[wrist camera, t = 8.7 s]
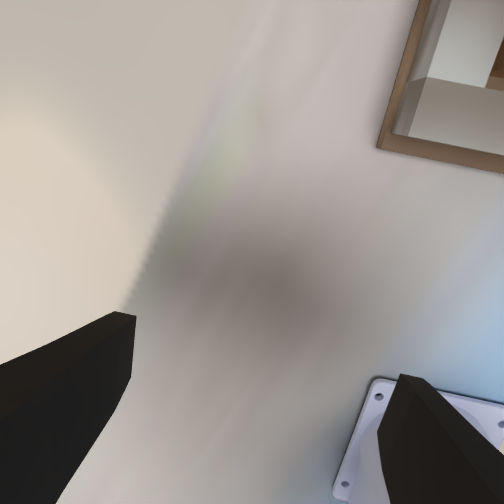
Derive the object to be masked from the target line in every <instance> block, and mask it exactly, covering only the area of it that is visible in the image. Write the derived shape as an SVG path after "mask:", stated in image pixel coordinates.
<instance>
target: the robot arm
mask: <svg viewBox="0 0 504 504" xmlns="http://www.w3.org/2000/svg"><path fill="white" fill-rule="evenodd" d="M135 327H136V316H134V315H130V314H125V313H121V312H116V311H114V312H112V313H110V314H107V315H105V316H104V317H101V318H99V319H97V320H95V321H93V322H91V323H89V324H87V325H85V326H83V327H81V328H79V329H77V330H75V331H73V332H71V333H69V334H67V335H65V336H63V337H61V338H59V339H57V340H55V341H53V342H51V343H49V344H47V345H44V346H42V347H40V348H37V349H35V350H33V351H31V352H28V353H26V354H24V355H21V356H19V357H17V358H15V359H12V360H10V361H8V362H6V363H3V364H1V365H0V504H56V502H57V501H58V499H59V497H60V495H61V494H62V492H63V490H64V489H65V487H66V486H67V484H68V483H69V481H70V480H71V478H72V477H73V475H74V473H75V472H76V470H77V469H78V467H79V466H80V464H81V463H82V461H83V460H84V458H85V456H86V455H87V453H88V452H89V450H90V449H91V447H92V446H93V444H94V443H95V441H96V439H97V438H98V436H99V435H100V433H101V432H102V430H103V429H104V427H105V425H106V424H107V422H108V421H109V419H110V417H111V416H112V414H113V413H114V411H115V409H116V407H117V405H118V403H119V401H120V399H121V397H122V395H123V393H124V391H125V389H126V387H127V385H128V382H129V380H130V378H131V372H132V361H133V349H134V338H135ZM377 393H381V395H379V396H375V394H377ZM500 421H502V422H500ZM499 422H500V423H499ZM503 439H504V405H501V404H496V403H492V402H487V401H483V400H478V399H473V398H469V397H464V396H460V395H455V394H451V393H446V392H442V391H437V390H436V389H435V388H433V387H432V386H431V385H430V384H429V383H428V382H427V381H425V380H424V379H423V378H418V377H414V376H409V375H405V374H400V375H399V378H398V380H397V382H396V381H391V380H387V379H376V380H374V381H373V383H372V384H371V387H370V390H369V392H368V395H367V398H366V400H365V403H364V406H363V408H362V411H361V414H360V416H359V419H358V422H357V424H356V427H355V430H354V432H353V435H352V438H351V440H350V443H349V446H348V448H347V451H346V454H345V456H344V459H343V462H342V465H341V467H340V470H339V473H338V475H337V478H336V481H335V483H334V486H333V490H332V491H333V496H334V497H335V498H336V499H338V500H341V501H346V502H348V504H504V455H503V454H502V453H501V452H499V450H498V448H499V446H500V445H501V443H502V441H503Z"/></svg>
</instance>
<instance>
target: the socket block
mask: <svg viewBox="0 0 504 504" xmlns="http://www.w3.org/2000/svg"><path fill="white" fill-rule="evenodd" d="M503 37H504V0H420V1H419V4H418V8H417V11H416V14H415V18H414V21H413V25H412V28H411V31H410V35H409V38H408V41H407V45H406V48H405V52H404V55H403V58H402V62H401V65H400V68H399V72H398V75H397V79H396V82H395V85H394V89H393V92H392V95H391V99H390V102H389V106H388V109H387V112H386V116H385V119H384V122H383V126H382V129H381V133H380V136H379V139H378V143H377V146H376V147H377V148H380V149H384V150H389V151H394V152H399V153H404V154H409V155H414V156H418V157H423V158H428V159H433V160H438V161H443V162H448V163H453V164H458V165H463V166H468V167H473V168H478V169H483V170H488V171H493V172H498V173H502V174H504V78H498V77H493V76H489V75H490V72H491V69H492V67H493V64H494V61H495V59H496V56H497V53H498V51H499V48H500V45H501V43H502V40H503Z"/></svg>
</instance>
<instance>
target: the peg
mask: <svg viewBox="0 0 504 504" xmlns="http://www.w3.org/2000/svg"><path fill="white" fill-rule="evenodd" d="M489 76H493V77H498V78H504V37H503V40H502V43H501V45H500V48H499V51H498V53H497V56H496V59H495V61H494V64H493V67H492V69H491V72H490V75H489Z"/></svg>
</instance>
